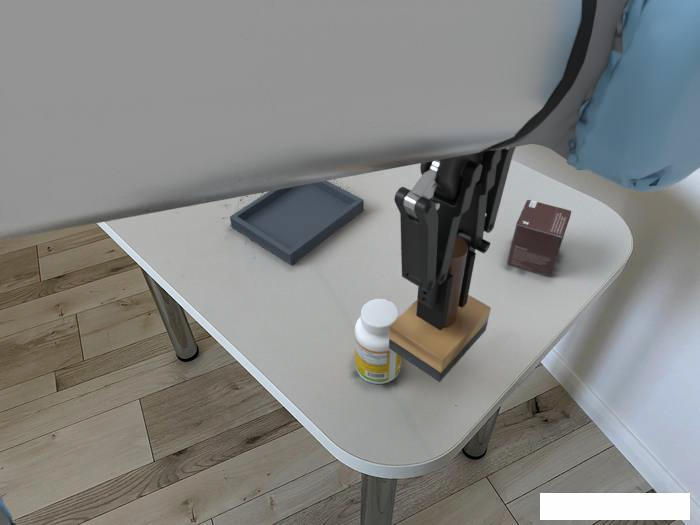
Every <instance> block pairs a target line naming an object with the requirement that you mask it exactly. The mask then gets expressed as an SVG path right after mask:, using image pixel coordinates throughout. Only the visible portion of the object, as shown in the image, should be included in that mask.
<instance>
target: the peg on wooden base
mask: <svg viewBox="0 0 700 525" xmlns="http://www.w3.org/2000/svg"><path fill="white" fill-rule="evenodd" d="M467 252H468V245H467V243H466V242H465V241H464V240H463V239H461V238H460V237H457V236H456V240H455V244H454V248H453V253H452V257H451V261H450V266H449V270H448V273H449V274H451V275H453V279H452V285H451V292H450V298H449V305H448V311H447V318H446V324H445V326H444V328H443V329H442V330H441V331H440V330H439V329H437V328H435V327H434V326H432V325H431V324H429V323H427V322H426V321H424V320H422V319H421V318H419V317H418V316H416V312H417V302H418V299H417V298H416V300H415V301H413V303H411V305H410V306H408V307H407V308H406V309H405V310H404V311H403V313H401V314H400V315H398V318H397V319H396V320H395V321H394V322H393V323H392V324H391V325H390V333H389V349H391V350H392V351H394V352H395V353H397V354H398V355H400V356H401V357H402V359H404V360H405V361H407V362H408V363H410V364H411V365H413V366H414V367H416V368H417V369H419V370H420V371H422V372H424V373H425V375H428V376H429V377H431V378H432V379H434V380H435V381H436V382H439V383H440V382H441V381H442V380H443V379H444V378H445V377H446V376H447V375H448V374H449V372H450V371H451V370H452V369H453V368H454V367H455V366H456V365H457V364H458V362H459V361H460V360H461V359H462V358H463V357H464V355H466V353H467V352H468V351H469V350H470V349H471V348H472V347H473V345H474V344H475V343H476V342H477V341H478V340H479V339H480V338H481V336H482V335H484V333H485V332H486V330H487V327H488V323H489V318H490V313H491V310H492V308H491V306H489V305H488V304H486V303H484V302H482V301H481V300H479V299H477V298H475V297H473V296H472V295H469V294H468V299H467V304H466V305H465V306H464V307H463V308H461V307H459V306H458V305H459V299H460V293H461V287H462V281H463V276H464V270H465V264H466V258H467Z"/></svg>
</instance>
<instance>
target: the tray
mask: <svg viewBox="0 0 700 525" xmlns="http://www.w3.org/2000/svg"><path fill="white" fill-rule="evenodd" d="M364 201H365V200H364V199H363V198H360V197H359V196H357V195H355V194H354V193H351V192H349V191H348V190H345V189H344V188H342V187H340V186H338V185H336V184H334V183H332V182H330V181H329V180H328V181H322V182H317V183H311V184H306V185H301V186H295V187H290V188H284V189H279V190H274V191H268V192H265V193H264V194H262V195H261V196H260V197H258V198H256V199H255V200H253V201H251V202H250V203H249V204H247V205H246V206H243V207H242V208H241V209H239V210H237V211H235V212H234V213H233V214H231V215H230V216H229V219H230V220H229V221H230V224H231V228H232V229H233V230H235V231H237V232H239V233H240V234H242V235H244V236H245V237H246V238H247V239H250V240H251V241H252V242H254V243H256V244H257V245H259V246H260V247H262V248H264V249H265V250H266V251H268V252H270V253H271V254H273V255H274V256H275V257H278V258H279V259H281V260H282V261H283V262H285V263H287V264H288V265H290V266H293V265H294V264H295V263H297V262H298V261H299V260H301V259H302V258H304V256H306V255H307V254H308V253H310V252H311V251H312V250H314V249H315V248H316V247H317V246H319V245H320V244H322V243H323V242H325V241H326V240H327V239H328V238H329V237H331V236H332V235H333V234H335V233H336V232H338V231H339V230H340V229H341V228H343V227H344V226H345V225H346V224H348V223H350V222H351V221H352V220H353V219H354V218H356V217H357V216H358V215H360V214H361V213H362V212H364V206H365V205H364V204H365V203H364Z"/></svg>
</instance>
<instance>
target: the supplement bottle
mask: <svg viewBox="0 0 700 525" xmlns="http://www.w3.org/2000/svg"><path fill="white" fill-rule="evenodd" d="M399 316H400V315H399V309H398V307H397V306H396V304H395V303H393V302H392V301H390V300H388V299H384V298H375V299H370V300H369V301H367V302H365V304H363V305H362V308H361V311H360V316H359V318H358V319H357V320H356V323H355V325H354V363H355V370H356V371H357V373H358V375H359V376H360V378H362V379H363V380H365V381H366V382H368V383H371V384H376V385H382V384H387V383H390V382H391V381H394V379H396V378H397V377H398V376H399V374H400V371H401V369H402V363H403V362H402V361H403V357H401V356H400V355H398V354H397V353H395V352H394V351H392V350H391V349H389V333H390V325H391V324H392V323H393V322H394V321H395V320H396V319H397V318H398V317H399Z"/></svg>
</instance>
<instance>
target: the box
mask: <svg viewBox="0 0 700 525" xmlns="http://www.w3.org/2000/svg"><path fill="white" fill-rule="evenodd" d="M571 215H572V210H570V209H567V208H564V207H559V206H554V205H550V204H547V203H543V202H539V201H536V200H530V199H527V200H526V201H525V203H524V206H523V207H522V209H521V211H520V215H519V217H518V219H517V222H516V224H515V227H514V228H515V229H514V232H513V235H512V236H513V237H512V240H511V244H510V248H509V253H508V256H507V260H506V264H507V265H509V266H512V267H515V268H518V269H523V270H526V271H529V272H533V273H535V274H539V275H542V276H546V277H550V276H551V275H552V274H553V269H554V267H555V265H556V261H557V258H558V255H559V253H560V249H561V247H562V246H561V245H562V243H563V240H564V237H565V233H566V230H567V228H568V225H569V222H570V219H571Z"/></svg>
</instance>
